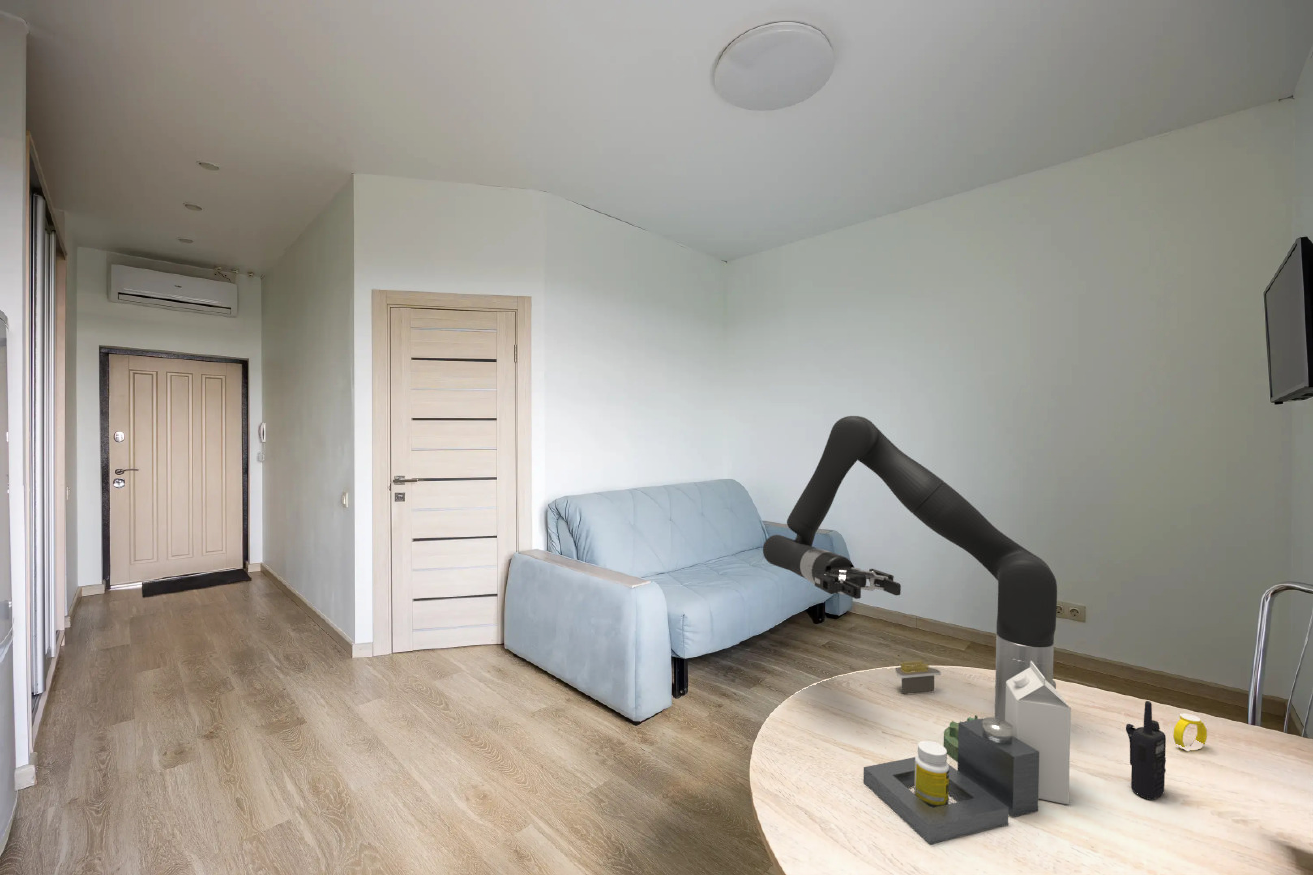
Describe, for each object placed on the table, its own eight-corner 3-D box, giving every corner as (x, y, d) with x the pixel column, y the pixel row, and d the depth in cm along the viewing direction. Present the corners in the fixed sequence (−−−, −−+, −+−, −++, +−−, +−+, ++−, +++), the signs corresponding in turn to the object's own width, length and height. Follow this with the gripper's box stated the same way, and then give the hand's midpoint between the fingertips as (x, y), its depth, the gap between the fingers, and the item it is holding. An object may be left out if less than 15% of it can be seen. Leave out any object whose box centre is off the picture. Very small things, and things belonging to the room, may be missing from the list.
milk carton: (1053, 778, 91) (1056, 663, 91) (1069, 806, 85) (1071, 682, 84) (1003, 769, 94) (1006, 657, 94) (1015, 795, 87) (1017, 674, 87)
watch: (1186, 756, 99) (1185, 723, 99) (1169, 748, 102) (1168, 716, 101) (1212, 750, 100) (1211, 718, 100) (1194, 742, 103) (1193, 710, 103)
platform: (862, 683, 126) (863, 655, 126) (932, 677, 130) (932, 649, 130) (896, 710, 114) (896, 678, 114) (971, 702, 118) (971, 671, 118)
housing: (966, 761, 96) (967, 698, 96) (1044, 815, 82) (1046, 741, 82) (863, 782, 90) (864, 714, 89) (929, 844, 76) (931, 764, 76)
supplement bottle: (952, 814, 82) (954, 758, 82) (918, 809, 83) (919, 754, 83) (943, 794, 87) (944, 741, 87) (910, 789, 88) (911, 737, 88)
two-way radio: (1152, 804, 85) (1154, 707, 85) (1117, 787, 89) (1119, 694, 89) (1168, 793, 88) (1171, 699, 88) (1134, 778, 92) (1136, 687, 92)
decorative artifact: (950, 765, 95) (1017, 777, 92) (950, 724, 95) (1018, 735, 92) (938, 735, 104) (998, 744, 101) (939, 698, 104) (999, 706, 101)
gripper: (796, 553, 113) (846, 573, 98) (856, 549, 117) (912, 568, 102) (795, 590, 113) (845, 615, 98) (855, 585, 117) (911, 609, 102)
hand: (879, 591), depth 100 cm, fingers open, 8 cm apart
